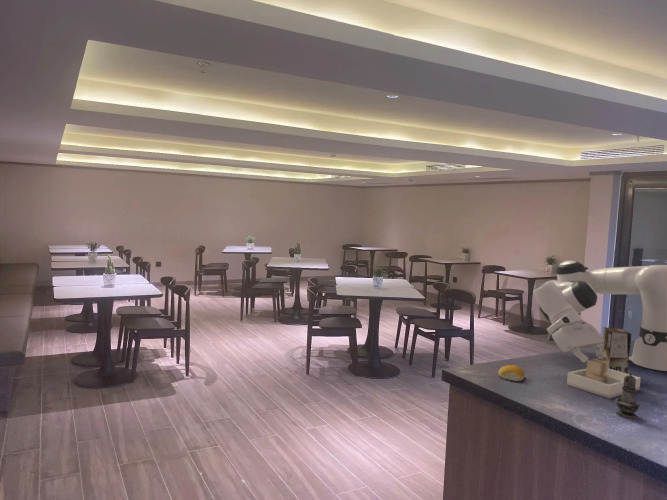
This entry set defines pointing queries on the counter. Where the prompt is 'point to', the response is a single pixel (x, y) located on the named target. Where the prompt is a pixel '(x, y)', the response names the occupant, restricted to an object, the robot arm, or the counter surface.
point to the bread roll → (511, 373)
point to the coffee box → (616, 348)
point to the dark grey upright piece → (628, 399)
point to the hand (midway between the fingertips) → (594, 359)
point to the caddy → (600, 383)
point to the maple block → (597, 370)
